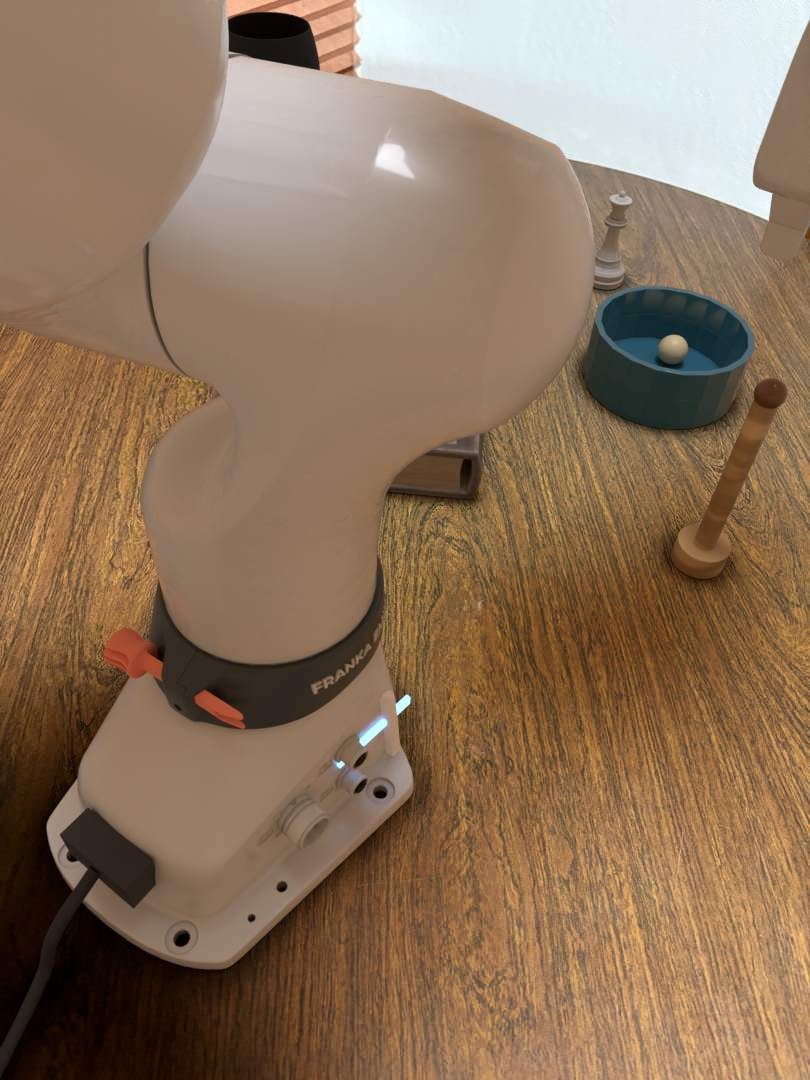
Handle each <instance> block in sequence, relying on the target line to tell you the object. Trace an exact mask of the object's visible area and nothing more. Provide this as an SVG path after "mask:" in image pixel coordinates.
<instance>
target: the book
mask: <svg viewBox="0 0 810 1080" xmlns="http://www.w3.org/2000/svg"><path fill="white" fill-rule="evenodd" d="M213 389H214V388H213ZM218 396H221V395H220V394H219V393H218V392H217V391H216V390H215V389H214V390H213V392H212V395H211V397H210V400H212V399H213V398H216V397H218ZM483 446H484V433H482V434H478V435H473V436H469V437H465V438H462V439H459V440H456V441H453V442H450V443H447V444H444V445H442V446H440V447H438V448H435V449H433V450H431V451H429V452H427V453H426V454H424V455H422V456H420V457H419V458H417V459H416V460H414V461H413V462H412V463H410V464H409V465H408V466H406V467H405V468H404V469H403V470H402V471H401V472H400V473H399V474H398V475H397V476H396V477H395V479H394V480H393V482H392V483H391V485H390V487H389V489H388V491H387V493H397V494H398V493H399V494H400V493H401V494H408V495H409V494H410V495H421V496H428V497H429V496H431V497H440V498H450V499H451V498H452V499H462V500H473V497H474V496H475V494H476V492H477V491H478V489H479V486H480V484H481V480H482V470H483V448H484V447H483Z"/></svg>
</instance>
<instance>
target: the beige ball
mask: <svg viewBox="0 0 810 1080" xmlns="http://www.w3.org/2000/svg"><path fill="white" fill-rule="evenodd" d="M687 353H688V344H687V342H686V340H685V339H684V338H683V337H681V336H679V335H669V336H666V337H665V338H663V339H662V340H661V342H660V343H659V345H658V356H659V358H660V359H661V360H662V361H663V362H664V363H666V364H671V365H673V364H678V363H680V362H681V361H683V360H684V358H685V357H686V355H687Z"/></svg>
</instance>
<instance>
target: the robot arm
mask: <svg viewBox="0 0 810 1080" xmlns="http://www.w3.org/2000/svg"><path fill="white" fill-rule="evenodd" d="M228 19H229V14H228V6H227V0H0V324H3V325H6V326H8V327H11V328H14V329H18V330H20V331H23V332H25V333H29V334H32V335H35V336H37V337H41V338H43V339H47V340H51V341H53V342H57V343H60V344H64V345H67V346H70V347H75V348H79V349H82V350H84V351H85V350H86V351H90V352H93V353H97V354H101V355H104V356H108V357H111V358H115V359H119V360H122V361H126V362H130V363H134V364H138V365H141V366H145V367H148V368H151V369H156V370H159V371H163V372H167V373H170V374H174V375H177V376H181V377H185V378H187V379H192V380H196V381H199V382H202V383H205V384H207V385H208V386H210V387H211V388H213V389H215V390H216V391H217V392H218V393H219V394H220V395H221V396H218V397H216V398H213V399H212V400H211V399H209V400H208V401H206V402H204V403H202V404H200V405H199V406H197V407H195V408H193V409H192V410H190V411H189V412H187V413H185V414H183V415H182V416H181V417H180V418H178V419H177V420H176V421H175V422H174V423H172V424H171V425H170V426H169V427H168V428H167V430H166V431H164V433H163V434H162V435H161V436H160V438H159V439H158V440H157V442H156V444H155V445H154V447H153V449H152V450H151V453H150V455H149V457H148V460H147V463H146V466H145V469H144V472H143V475H142V479H141V484H140V491H139V506H140V511H141V512H140V513H141V515H142V519H143V524H144V527H145V531H146V535H147V538H148V543H149V547H150V551H151V554H152V558H153V562H154V566H155V571H156V574H157V579H158V580H157V585H156V590H155V595H154V600H153V607H152V613H151V620H150V628H149V634H148V635H149V636H148V640H145V639H144V638H143V636H141V635H140V634H139V633H138V632H137V631H136V630H134V629H132V628H131V627H122V628H120V629H119V630H117V631H115V632H114V633H113V634H112V635H111V636H110V638H109V639H108V640H107V642H106V644H105V648H104V649H103V655H104V656H103V660H104V661H106V663H107V664H109V665H110V666H113V667H115V668H117V669H120V670H122V671H124V672H125V674H126V675H127V676H128V679H127V681H126V683H125V684H124V685H123V688H122V689H121V691H120V693H119V694H118V697H117V698H116V700H115V701H114V702H113V705H112V706H111V708H110V710H109V711H108V714H107V715H106V717H105V718H104V720H103V722H102V724H101V725H100V727H99V728H98V730H97V732H96V734H95V735H94V737H93V738H92V740H91V742H90V743H89V746H87V749H86V751H85V752H84V754H83V756H82V758H81V760H80V763H79V766H78V771H77V777H76V779H75V781H74V782H73V783H72V785H71V786H70V788H69V789H68V790H67V792H66V793H65V794H64V796H63V797H62V799H61V800H60V801H59V803H58V804H57V806H56V807H55V808H54V810H53V812H52V813H51V814H50V816H49V818H48V820H47V822H46V835H47V840H48V845H49V849H50V852H51V856H52V857H53V860H54V863H55V865H56V867H57V869H58V871H59V873H60V875H61V877H62V879H63V881H65V883H66V885H67V886H68V887H69V888H70V890H71V893H70V894H69V895H68V897H67V898H66V899H65V901H64V903H63V904H62V905H61V907H60V908H59V910H58V912H57V914H56V915H55V917H54V918H53V921H52V922H51V924H50V926H49V928H48V930H47V932H46V935H45V936H44V939H43V943H42V946H41V950H40V960H39V965H38V968H37V970H36V972H35V975H34V977H33V980H32V982H31V984H30V986H29V989H28V991H27V992H26V995H25V997H24V999H23V1002H22V1004H21V1006H20V1008H19V1010H18V1013H17V1015H16V1017H15V1019H14V1021H13V1022H12V1025H11V1026H10V1029H9V1030H8V1033H7V1035H6V1036H5V1039H4V1041H3V1042H2V1044H1V1046H0V1079H1V1078H2V1076H3V1075H4V1073H5V1070H6V1069H7V1068H8V1065H9V1064H10V1061H11V1059H12V1056H13V1055H14V1052H15V1050H16V1048H17V1046H18V1044H19V1041H20V1040H21V1038H22V1036H23V1034H24V1032H25V1030H26V1028H27V1026H28V1023H30V1020H31V1019H32V1017H33V1015H34V1013H35V1011H36V1009H37V1006H38V1005H39V1002H40V1000H41V998H42V995H43V993H44V992H45V989H46V986H47V984H48V982H49V979H50V977H51V975H52V972H53V968H54V965H55V961H56V960H55V959H56V954H57V947H58V946H59V942H60V940H61V937H62V936H63V934H64V931H65V930H66V928H67V926H68V925H69V923H70V922H71V920H72V918H73V917H74V915H75V914H76V912H77V910H78V909H79V908H80V906H81V904H83V905H84V906H85V907H86V908H87V909H88V910H89V911H90V912H91V913H93V914H94V915H95V916H96V917H97V918H98V919H99V920H100V921H102V922H103V923H104V924H105V925H106V926H107V927H109V929H111V930H112V931H113V932H116V933H117V934H118V935H119V936H120V937H122V938H124V939H125V940H126V941H127V942H128V943H131V944H132V945H134V946H136V947H137V948H139V949H140V950H142V951H144V952H146V953H148V954H150V955H153V956H155V957H157V958H158V959H161V960H163V961H166V962H168V963H171V964H175V965H178V966H181V967H187V968H191V969H198V970H226V969H228V968H231V966H233V965H234V964H235V963H237V962H238V961H239V960H240V959H242V958H243V957H244V956H245V955H246V954H247V953H248V952H249V951H250V950H251V949H253V947H255V945H257V944H258V943H259V941H261V940H263V938H264V937H265V936H266V935H267V934H268V933H270V931H272V929H273V928H274V927H276V926H277V925H278V924H279V923H280V922H281V921H282V920H283V919H284V918H285V917H286V916H287V915H288V914H289V913H291V911H292V910H294V909H295V908H296V906H298V905H299V904H300V903H301V902H302V901H303V900H304V899H305V898H306V897H307V896H308V895H309V894H310V893H311V892H313V890H315V888H317V887H318V886H319V885H320V884H321V883H322V882H323V881H324V880H325V879H326V878H327V877H328V876H329V875H330V874H331V873H333V871H334V870H335V869H337V867H339V866H340V865H341V864H342V862H344V861H345V860H346V859H347V858H348V857H350V855H351V854H353V853H354V852H355V851H356V850H357V849H358V848H359V847H360V846H361V845H362V844H363V843H364V842H365V841H366V840H368V838H369V837H371V835H373V833H374V832H376V831H377V830H378V829H379V828H380V827H381V826H382V825H383V824H384V823H385V822H386V821H387V820H388V819H389V818H390V817H391V816H392V815H394V813H396V812H397V811H398V810H399V809H400V808H401V807H402V806H403V805H404V804H405V803H406V802H407V801H408V800H409V799H410V798H411V796H412V794H413V792H414V788H415V782H414V775H413V774H414V773H413V770H412V768H411V765H410V762H409V760H408V757H407V755H406V753H405V751H404V749H403V747H402V745H401V739H400V738H401V737H400V730H399V729H400V728H399V714H400V713H402V712H403V711H404V710H405V709H406V708H407V707H408V706H410V704H411V696H410V695H408V694H405V695H404V696H403V697H402V698H401V699H400V700H399V701H398V702H397V699H396V696H395V691H394V687H393V684H392V680H391V676H390V673H389V668H388V665H387V661H386V657H385V652H384V649H383V646H382V643H381V640H382V637H383V636H382V635H383V633H384V624H385V617H386V611H387V591H386V590H385V575H384V570H383V569H384V568H383V565H382V562H381V559H380V555H379V554H378V552H379V541H380V532H381V523H382V515H383V509H384V505H385V499H386V496H387V493H388V492H387V491H388V489H389V487H390V485H391V483H392V482H393V480H394V479H395V477H396V476H397V475H398V474H399V473H400V472H401V471H402V470H403V469H404V468H405V467H406V466H408V465H409V464H410V463H412V462H413V461H414V460H416V459H417V458H419V457H420V456H422V455H424V454H426V453H427V452H429V451H431V450H433V449H435V448H438V447H440V446H442V445H444V444H447V443H450V442H453V441H456V440H459V439H462V438H465V437H469V436H473V435H478V434H482V433H483V434H485V433H489V432H491V431H493V430H495V429H497V428H498V427H500V426H502V425H505V424H506V423H508V422H509V421H510V420H512V419H513V418H515V417H517V416H518V415H519V414H520V413H522V412H524V411H525V409H526V408H528V407H529V406H530V405H532V403H534V402H535V401H536V400H538V398H539V397H540V396H541V395H542V394H543V393H544V392H545V390H547V388H548V387H549V386H550V385H551V384H552V383H553V381H554V380H555V379H556V378H557V376H558V375H559V374H560V372H561V371H562V369H563V368H564V367H565V365H566V364H567V361H568V360H569V358H570V356H571V354H572V353H573V351H574V349H575V347H576V345H577V343H578V340H579V339H580V336H581V334H582V331H583V329H584V328H585V327H584V326H585V323H586V320H587V317H588V313H589V311H590V306H591V302H592V298H593V291H594V287H593V284H594V276H595V252H596V245H595V236H594V235H595V234H594V227H593V222H592V218H591V214H590V213H591V212H590V209H589V205H588V203H587V200H586V196H585V194H584V190H583V188H582V184H581V183H580V181H579V178H578V176H577V174H576V172H575V170H574V168H573V166H572V164H571V162H570V161H569V159H568V158H567V156H566V155H565V153H564V151H563V150H562V149H561V147H560V146H559V145H557V144H555V143H553V142H551V141H550V140H547V139H544V138H543V137H540V136H538V135H536V134H534V133H531V132H529V131H528V130H525V129H523V128H521V127H519V126H517V125H515V124H512V123H510V122H508V121H507V120H506V121H505V120H504V119H502V118H499V117H497V116H495V115H492V114H490V113H488V112H485V111H483V110H480V109H478V108H475V107H473V106H471V105H468V104H465V103H463V102H461V101H459V100H456V99H453V98H451V97H448V96H446V95H443V94H441V93H439V92H436V91H433V90H432V89H425V88H420V87H419V88H418V87H412V86H409V85H403V84H397V83H392V82H386V81H379V80H376V79H370V78H365V77H358V76H353V75H348V74H342V73H336V72H330V71H325V70H321V69H320V70H315V69H309V68H304V67H298V66H293V65H287V64H282V63H276V62H271V61H265V60H260V59H255V58H251V57H249V56H247V55H243V54H238V53H233V52H229V33H228ZM752 183H753V185H754V187H756V189H758V190H762V191H763V192H767V193H770V194H771V199H770V200H771V202H770V207H769V215H768V222H767V225H766V228H765V231H764V233H763V236H762V239H761V241H760V244H759V248H760V249H759V250H760V251H761V253H762V254H763V255H764V256H767V257H771V258H772V259H773V258H774V259H776V260H780V261H783V262H789V261H791V260H793V259H794V257H795V256H796V255H797V253H798V252H799V251H800V249H801V247H802V246H803V243H804V242H805V238H806V236H807V233H808V231H809V229H810V19H809V20H808V22H807V24H806V26H805V29H804V31H803V32H802V35H801V37H800V40H799V42H798V45H797V47H796V49H795V51H794V54H793V57H792V59H791V62H790V64H789V67H788V69H787V73H786V75H785V78H784V80H783V82H782V85H781V88H780V91H779V93H778V95H777V99H776V102H775V104H774V107H773V110H772V113H771V115H770V118H769V120H768V123H767V126H766V128H765V131H764V133H763V137H762V140H761V142H760V145H759V147H758V149H757V153H756V156H755V159H754V163H753V169H752ZM377 792H383V793H384V794H385V795H386V796H385V797H383V798H378V797H376V796H375V794H376V793H377ZM72 857H73V858H74V859H75V860H76V861H70V860H71V858H72ZM282 888H284V889H285V890H284V891H279V890H280V889H282ZM183 935H188V936H189V941H188V942H187V943H186V944H185V945H183V946H178V945H176V942H177V940H178V939H179V937H181V936H183Z"/></svg>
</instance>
